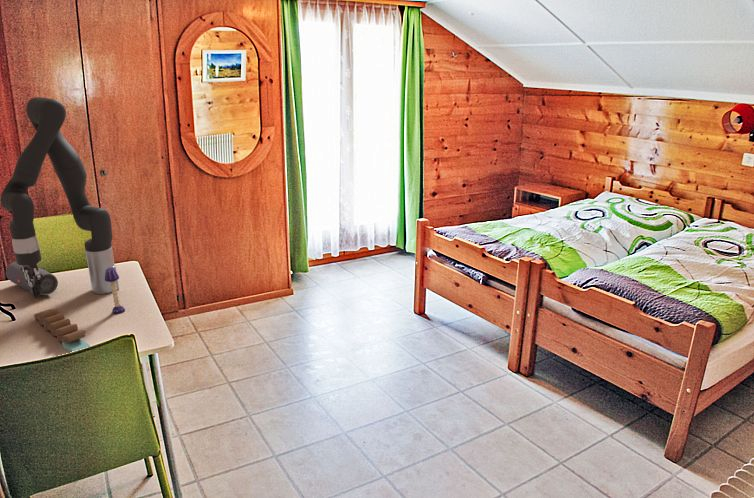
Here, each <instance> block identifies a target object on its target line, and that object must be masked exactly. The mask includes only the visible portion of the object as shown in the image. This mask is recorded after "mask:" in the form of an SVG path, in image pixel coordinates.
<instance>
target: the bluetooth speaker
mask: <svg viewBox="0 0 754 498" xmlns="http://www.w3.org/2000/svg"><path fill="white" fill-rule="evenodd" d="M22 267H23V265H18V264H17V263H16V261H13V262H11V263H10V264H9V265H8V266H7V267H6V268H5V276H6V278H7V280H8V281H10V282H11V283H14V284H15V285H16V286H19V287H20V288H23V289H25V290H26V291H28V292H30V293H32V292H31V288H30V286H29V283H27V282H26V280H25V278H24V275H23V273H22V271H21V268H22ZM39 270H40V271H39V274H42V275H43V279H42V284H41V285H39V289H40V296H41V295H42V296H49V295H50V294H52V293H54V292H55V291H56V290H57V289H58V284H59V281H58V279H57V277H56V276H55V275H54V274H52V273H50V272H49V271H47V270H45V269H44V268H40V267H39Z"/></svg>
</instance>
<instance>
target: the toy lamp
mask: <svg viewBox="0 0 754 498" xmlns="http://www.w3.org/2000/svg"><path fill="white" fill-rule="evenodd" d="M119 279H120V276H119V273H118V272H117V269H116V270H115V268H113V267H110V268H107V269H106V271H105V281H107V282H110V283H111V287H112V291H113V292H111V293H112V298H113V302H114V307H113V308H112V310H111V313H112V314H116V315H117V314H118V315H119V314H122V313H124V312H125V311H126V309H125V307H124V306H123V305H121V303H120V299H119V298H120V297H119V292H118V290H117V287H116V283H115V282H116V280H119Z"/></svg>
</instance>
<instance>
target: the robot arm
mask: <svg viewBox="0 0 754 498" xmlns="http://www.w3.org/2000/svg"><path fill="white" fill-rule="evenodd" d="M25 111H26V112H25V113H26V114H27V118H28V119H29V122H30V123H31V125H32V127H33V128H34V130H35V133H34V136H33V137H32V139H31V140H30V142H29V143H28V144H27V145H26V147H25V148H24V149H23V150H22V152H21V153H20V155H19V157H18V159H17V161H16V164H15V167H14V170H13V173H12V176H11V178H10V179H9V180H8V182H7V183H6V186H5V187H4V188H3V190H2V191H1V192H2V193H1V195H0V205H1V207H2V208H3V209H4V210H5V211H8V212H10V213H11V212H12V220H11V221H10V222H9V223H8V224H9V232H10V235H11V236H10V237H11V242H12V243H11V244H12V249H13V254H14V259H15V262H16V263H17V264H18V265H23V267H22V268H21V271H22V273H23V275H24V278H25V280H26V282H27V283H29V286H30V288H31V292H30V293H31V296H33V297H35V298H36V297H39V296H41V294H40V289H39V285H41V284H42V279H43V275H42V274H39V271H40V270H39V268H40V266H38V263H40V262H41V261H42V254H41V249H40V244H39V240H38V238H37V234H36V229H35V228H36V227H35V224H34V218H35V204H34V201H33V199H32V197H31V196H30V195H29V194H27V192H28V190H29V189H30V188H31V187H34V186H35V185H36V183H37V182H38V178H39V175H40V173H41V170H42V167H43V164H44V161H45V159H46V157H47V156H48V157H49V160H50V162H51V165H52V167H53V170H54V172H55V174H56V176H57V178H58V181H59V182H60V185H61V187H62V189H63V191H64V194H65V197H66V198H67V201H68V204H69V207H70V209H71V210H70V211H71V213H72V216H73V219H74V222H75V224H76V225H77V227H78V228H79V229H80V230H82V231H87V232H90V233H91V234H90V235H91V238H90V239H88V240H86V241H85V242H84V244H83V245H84V251H85V257H86V262H87V267H88V269H87V270H88V273H89V279H90V285H91V290H92V293H93V294H97V295H102V294H110V293H112V292H113V291H112V287H111V283H110V282H107V281H105V271H106V269H107V268H110V267H113V268H115V270H116V271H117V267H116V264H115V259H114V252H113V246H112V245H113V244H112V240H113V228H112V220H111V215H110V213H109V212H108V210H107V209H105V208H103V207H97V206H92V205H91V204H90V202H89V199H88V196H87V194H86V186H87V185H86V183H87V170H86V168H85V166H84V164H83V162H82V158H81V157H80V155H79V154H78V152H77V151H76V150H75V148H74V147H73V146H72V145H71V144H70V143H69V141H68V140H67V139H66V138H65V136H64V135H63V133H62V132H61V128H62V126H63V125H64V122H65V120H66V116H67V110H66V107H65V105H64V104H63V103H62V102H61V101H60V100H57V99H55V98H49V97H43V96H35V97H32V98H31V99H29V100H28V101H27V103H26V109H25ZM118 280H119V279H118ZM118 280H116V282H115V283H116V287H117V291H118V290H120V286H119V281H118Z"/></svg>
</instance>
